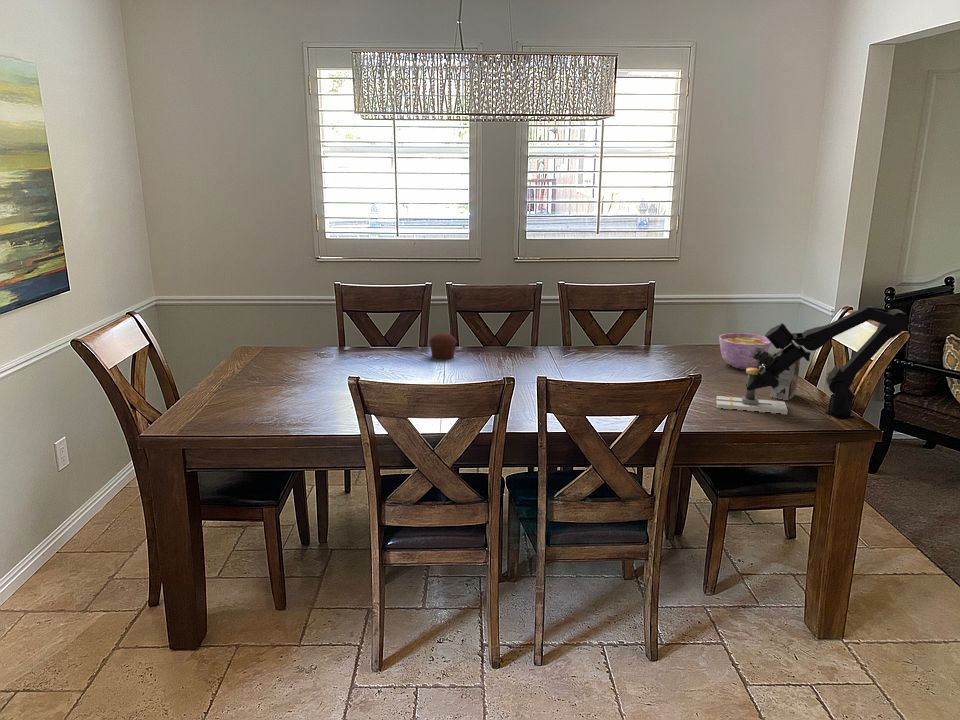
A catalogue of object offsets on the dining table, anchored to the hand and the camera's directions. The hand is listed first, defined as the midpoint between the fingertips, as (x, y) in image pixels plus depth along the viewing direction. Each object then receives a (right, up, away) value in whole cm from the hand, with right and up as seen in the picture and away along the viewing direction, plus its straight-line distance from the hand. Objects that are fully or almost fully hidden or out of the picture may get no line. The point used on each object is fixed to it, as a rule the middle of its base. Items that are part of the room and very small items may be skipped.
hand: (746, 387), depth 246 cm
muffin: (-105, +11, +61) cm, 122 cm away
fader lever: (+1, -5, +1) cm, 5 cm away
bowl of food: (+16, +7, +50) cm, 53 cm away
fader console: (+2, -7, +1) cm, 7 cm away
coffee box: (+18, -4, +13) cm, 22 cm away
